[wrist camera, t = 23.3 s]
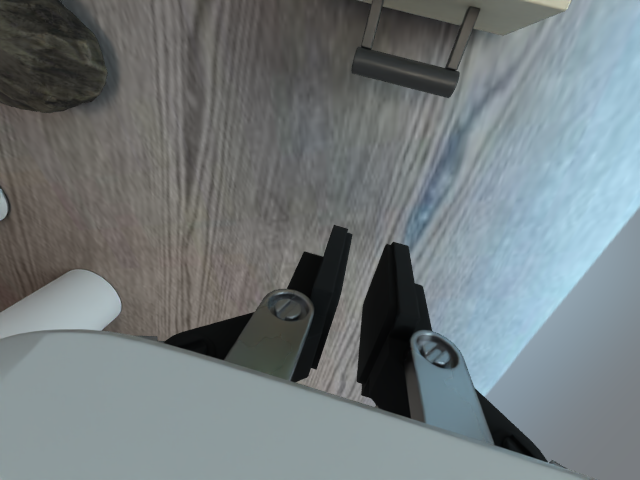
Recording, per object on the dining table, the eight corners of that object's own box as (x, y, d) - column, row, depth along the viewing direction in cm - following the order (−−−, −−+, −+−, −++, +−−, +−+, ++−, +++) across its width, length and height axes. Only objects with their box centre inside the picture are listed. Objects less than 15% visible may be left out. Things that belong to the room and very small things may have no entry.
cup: (119, 328, 42) (-11, 448, 28) (63, 303, 42) (-95, 412, 28) (124, 286, 39) (-23, 401, 25) (63, 258, 38) (-121, 359, 24)
